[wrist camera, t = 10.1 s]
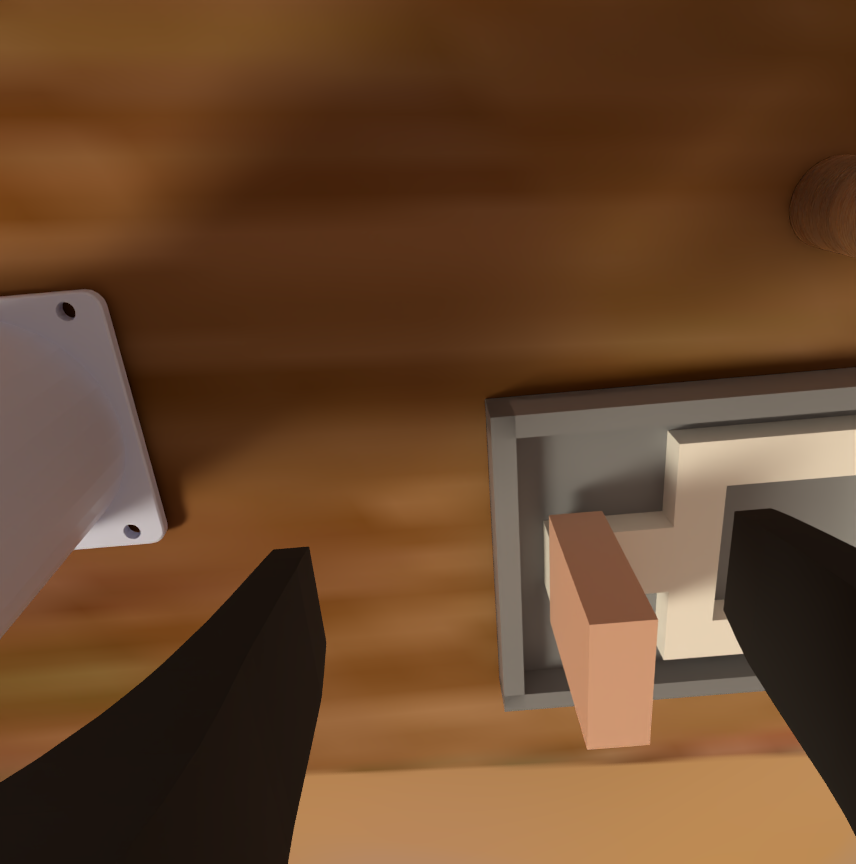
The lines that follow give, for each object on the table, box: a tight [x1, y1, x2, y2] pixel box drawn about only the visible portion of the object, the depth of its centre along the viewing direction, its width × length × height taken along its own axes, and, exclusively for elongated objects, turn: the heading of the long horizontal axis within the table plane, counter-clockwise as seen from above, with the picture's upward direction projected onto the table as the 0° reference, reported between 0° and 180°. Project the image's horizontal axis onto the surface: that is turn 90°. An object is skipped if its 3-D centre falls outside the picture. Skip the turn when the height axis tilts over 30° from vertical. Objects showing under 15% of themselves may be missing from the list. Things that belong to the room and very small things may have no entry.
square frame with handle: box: [543, 415, 856, 750], centre depth 19 cm, size 12×8×6 cm
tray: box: [485, 367, 856, 712], centre depth 22 cm, size 16×11×2 cm
